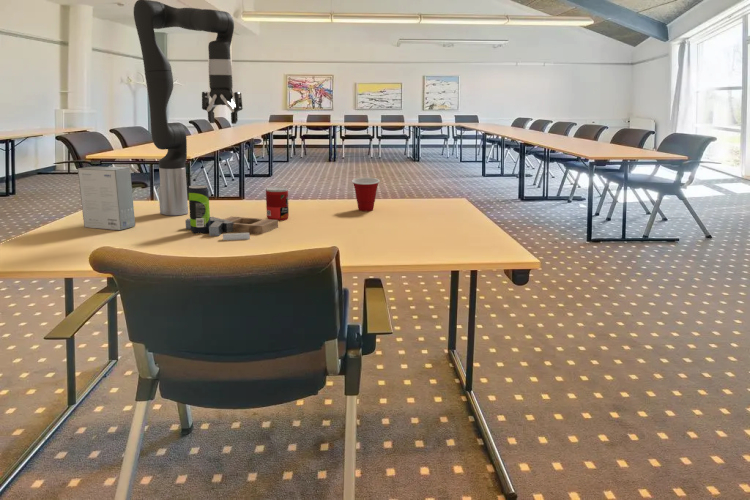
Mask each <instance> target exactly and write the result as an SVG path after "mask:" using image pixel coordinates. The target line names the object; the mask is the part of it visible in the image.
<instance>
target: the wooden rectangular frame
mask: <svg viewBox="0 0 750 500" xmlns="http://www.w3.org/2000/svg"><path fill="white" fill-rule="evenodd" d="M223 219H224V220H228V221H232V222H234V224H233V231H232V232H235V233H249V234H260V235H263V234H266V233H268V232H270V231H273V230H276V229H277V228H279V221H278V220H271V219H268V218H257V217H256V218H255V217H244V216H234V215H233V216H232V215H231V216H228V217H225V218H223Z"/></svg>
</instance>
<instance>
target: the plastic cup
mask: <svg viewBox="0 0 750 500" xmlns="http://www.w3.org/2000/svg"><path fill="white" fill-rule="evenodd" d="M351 182H352V185H353V187H354V192H355V200H356V203H357V209H358V210H359V211H361V212H371V211H373V210H374V207H375V202H376V196H377V189H378V186H379V183H380V182H381V181H380V179H378V178H375V177H357V178H353V179H352V180H351Z"/></svg>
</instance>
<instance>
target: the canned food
mask: <svg viewBox="0 0 750 500" xmlns="http://www.w3.org/2000/svg"><path fill="white" fill-rule="evenodd" d="M265 200H266V201H265V203H266V205H265V207H266V219H271V220H278V222H279V221H285V220H288V219H289V217H290V216H289V214H290V213H289V189H288V188H287V187H284V186H283V187H280V186H274V187H273V186H272V187H266V189H265Z"/></svg>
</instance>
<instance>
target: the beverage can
mask: <svg viewBox="0 0 750 500" xmlns="http://www.w3.org/2000/svg"><path fill="white" fill-rule="evenodd" d="M188 188H189V189H187V194H188V205H189V206H188V210H189V219H190V225H191V229H190V231H191V233H193V234H196V233H203V234H207V233H208V234H209V226H210V217H211V213H210V195H209V194H210V192H209V187H208V185H206V184H205V185H204V184H195V185H194V184H193V185H189V186H188Z"/></svg>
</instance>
